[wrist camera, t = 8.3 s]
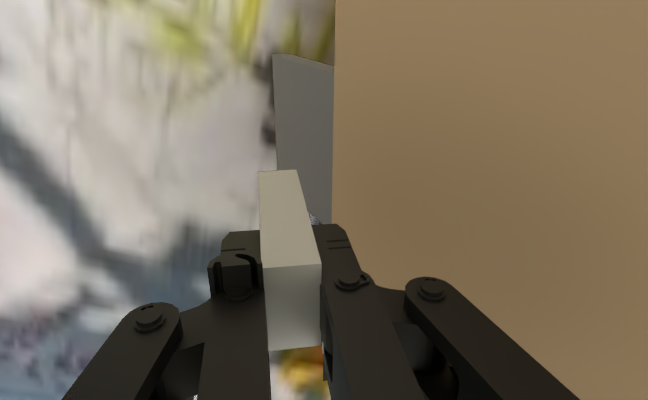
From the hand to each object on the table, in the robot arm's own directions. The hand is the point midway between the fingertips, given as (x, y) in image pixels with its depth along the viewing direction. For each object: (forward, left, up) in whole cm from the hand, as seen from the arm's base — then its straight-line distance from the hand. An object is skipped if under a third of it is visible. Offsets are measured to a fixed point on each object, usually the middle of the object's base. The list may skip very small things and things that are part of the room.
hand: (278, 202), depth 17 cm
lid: (+7, 0, +4) cm, 8 cm away
